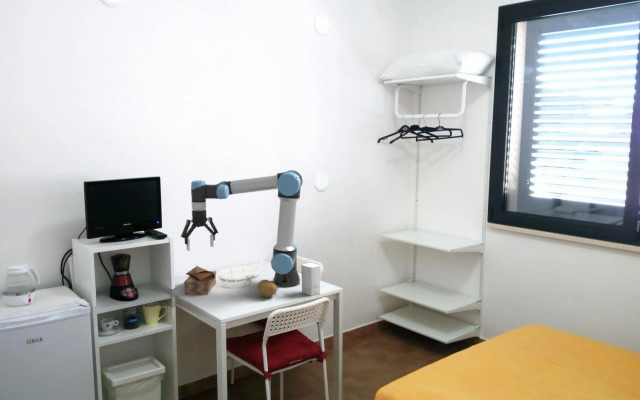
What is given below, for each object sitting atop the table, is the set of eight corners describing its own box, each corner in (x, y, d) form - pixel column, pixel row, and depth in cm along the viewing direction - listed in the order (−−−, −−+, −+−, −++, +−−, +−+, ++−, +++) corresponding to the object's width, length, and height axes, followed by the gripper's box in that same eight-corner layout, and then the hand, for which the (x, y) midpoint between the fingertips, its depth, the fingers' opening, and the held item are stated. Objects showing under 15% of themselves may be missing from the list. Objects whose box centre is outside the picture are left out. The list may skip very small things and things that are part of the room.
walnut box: (216, 283, 283) (216, 271, 281) (207, 295, 262) (207, 282, 261) (194, 283, 283) (194, 271, 282) (184, 295, 263) (183, 282, 261)
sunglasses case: (183, 273, 274) (189, 262, 276) (193, 277, 279) (199, 266, 281) (201, 281, 262) (206, 269, 263) (211, 285, 266) (216, 273, 268)
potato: (270, 290, 270) (270, 276, 269) (281, 298, 258) (280, 283, 257) (253, 293, 266) (253, 278, 264) (263, 301, 253) (263, 286, 252)
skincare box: (320, 293, 265) (320, 265, 263) (310, 296, 261) (311, 267, 259) (310, 289, 272) (310, 262, 269) (300, 292, 267) (300, 264, 265)
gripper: (217, 206, 277) (218, 243, 280) (173, 210, 262) (175, 250, 265) (223, 208, 271) (224, 246, 274) (179, 212, 256) (180, 253, 259)
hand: (200, 248), depth 269 cm, fingers open, 13 cm apart
